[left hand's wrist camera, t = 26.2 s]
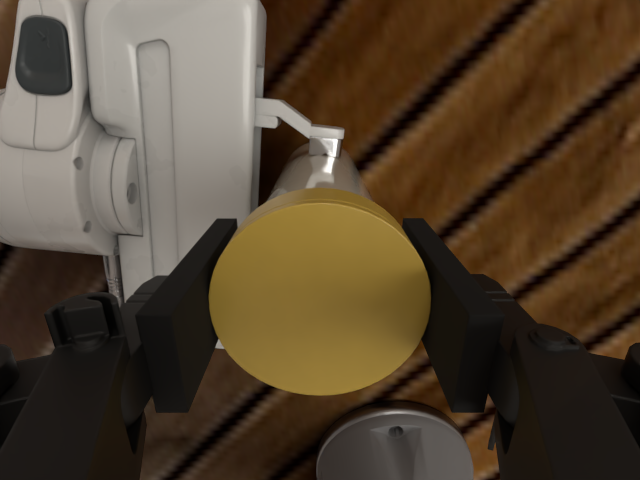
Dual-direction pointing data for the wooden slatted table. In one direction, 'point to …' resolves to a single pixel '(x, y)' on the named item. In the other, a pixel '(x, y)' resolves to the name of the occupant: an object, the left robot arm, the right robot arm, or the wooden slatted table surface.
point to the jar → (319, 173)
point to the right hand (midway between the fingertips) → (335, 201)
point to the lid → (319, 293)
